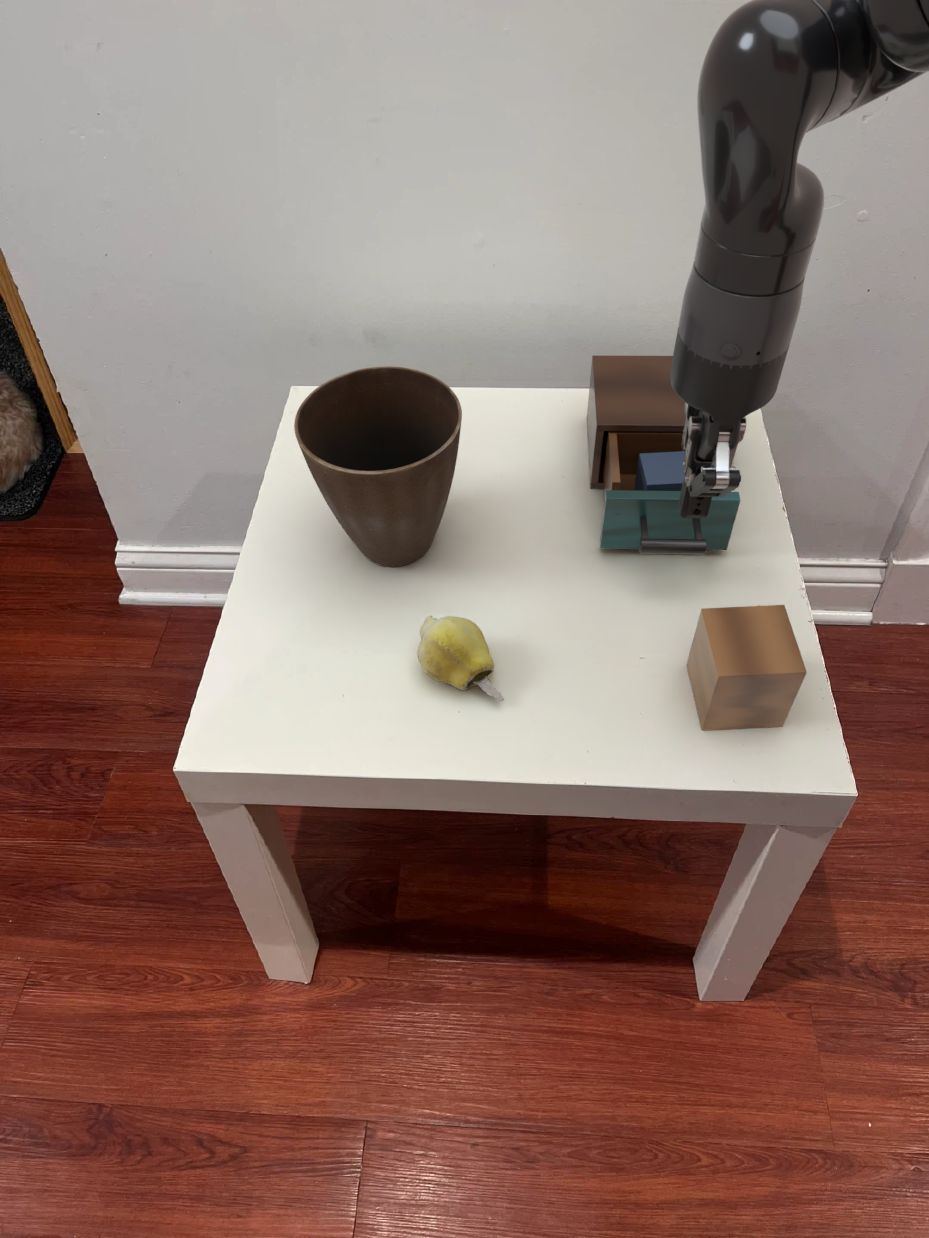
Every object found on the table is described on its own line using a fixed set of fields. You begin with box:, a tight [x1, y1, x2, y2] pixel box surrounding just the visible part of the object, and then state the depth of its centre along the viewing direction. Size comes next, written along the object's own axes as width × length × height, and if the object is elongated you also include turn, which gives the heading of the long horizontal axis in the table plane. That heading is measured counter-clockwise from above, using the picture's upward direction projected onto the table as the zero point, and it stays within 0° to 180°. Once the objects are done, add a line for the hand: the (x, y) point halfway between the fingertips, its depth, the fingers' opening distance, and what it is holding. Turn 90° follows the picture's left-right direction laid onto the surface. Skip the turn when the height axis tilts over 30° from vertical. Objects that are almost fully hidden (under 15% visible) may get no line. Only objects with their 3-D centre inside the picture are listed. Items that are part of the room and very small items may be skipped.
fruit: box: [416, 615, 505, 702], centre depth 82 cm, size 6×6×10 cm
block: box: [634, 451, 687, 491], centre depth 92 cm, size 5×5×5 cm
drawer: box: [599, 431, 741, 555], centre depth 91 cm, size 15×12×7 cm
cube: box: [686, 604, 807, 731], centre depth 78 cm, size 7×7×8 cm
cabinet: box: [586, 354, 685, 490], centre depth 98 cm, size 12×14×9 cm
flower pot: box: [293, 365, 463, 568], centre depth 88 cm, size 15×15×16 cm
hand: (692, 511), depth 76 cm, fingers closed
